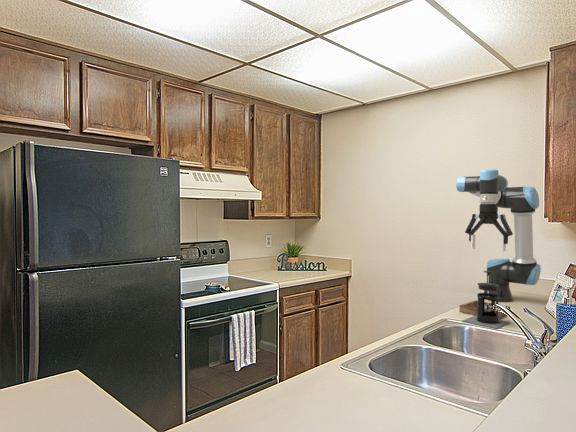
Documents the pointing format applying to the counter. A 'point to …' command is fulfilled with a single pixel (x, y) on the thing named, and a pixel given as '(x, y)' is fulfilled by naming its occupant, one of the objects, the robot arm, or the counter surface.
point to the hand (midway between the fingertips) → (487, 250)
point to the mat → (494, 326)
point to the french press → (483, 315)
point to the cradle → (475, 308)
